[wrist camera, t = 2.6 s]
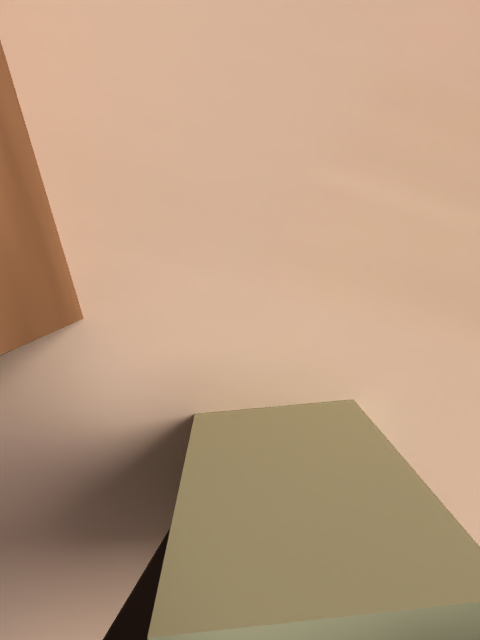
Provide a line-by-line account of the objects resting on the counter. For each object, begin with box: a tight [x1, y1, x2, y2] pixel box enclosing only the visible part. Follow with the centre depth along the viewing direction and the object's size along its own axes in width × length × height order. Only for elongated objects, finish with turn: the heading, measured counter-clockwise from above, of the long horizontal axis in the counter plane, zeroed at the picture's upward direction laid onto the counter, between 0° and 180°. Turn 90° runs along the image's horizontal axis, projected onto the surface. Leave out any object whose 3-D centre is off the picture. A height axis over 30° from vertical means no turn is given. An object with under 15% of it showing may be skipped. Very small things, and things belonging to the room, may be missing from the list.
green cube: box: [147, 400, 480, 640], centre depth 7 cm, size 5×5×5 cm
